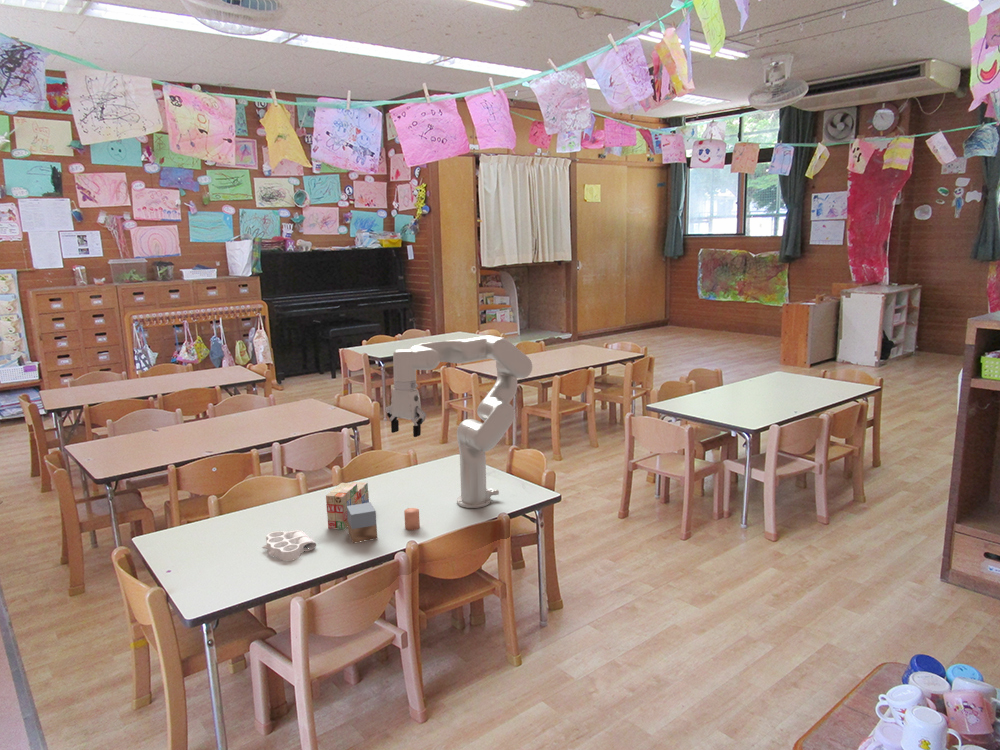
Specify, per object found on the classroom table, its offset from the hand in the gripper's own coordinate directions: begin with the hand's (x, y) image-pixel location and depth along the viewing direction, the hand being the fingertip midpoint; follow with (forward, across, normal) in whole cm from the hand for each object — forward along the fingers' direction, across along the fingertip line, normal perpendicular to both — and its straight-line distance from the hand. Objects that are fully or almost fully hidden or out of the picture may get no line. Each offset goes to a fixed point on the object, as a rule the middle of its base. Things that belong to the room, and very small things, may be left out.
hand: (405, 434), depth 240 cm
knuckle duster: (+33, +19, +37) cm, 53 cm away
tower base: (+32, +4, +18) cm, 37 cm away
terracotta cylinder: (+31, -6, +5) cm, 32 cm away
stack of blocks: (+32, +19, +9) cm, 38 cm away
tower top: (+27, +4, +19) cm, 33 cm away
